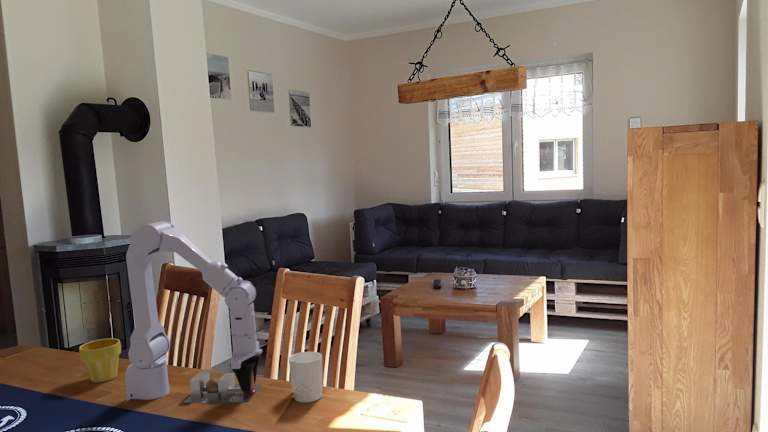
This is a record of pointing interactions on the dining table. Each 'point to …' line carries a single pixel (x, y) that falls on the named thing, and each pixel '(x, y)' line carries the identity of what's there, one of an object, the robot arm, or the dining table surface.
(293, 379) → the white cup
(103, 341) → the plant pot
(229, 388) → the ram handle
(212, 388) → the nut
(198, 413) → the dining table surface
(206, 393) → the bench
